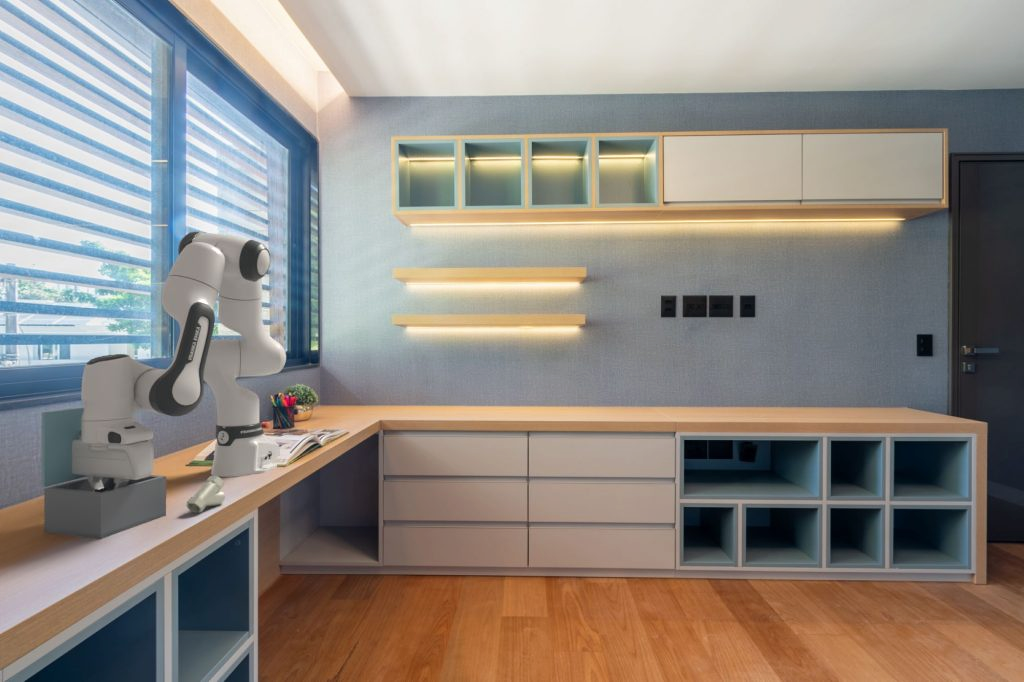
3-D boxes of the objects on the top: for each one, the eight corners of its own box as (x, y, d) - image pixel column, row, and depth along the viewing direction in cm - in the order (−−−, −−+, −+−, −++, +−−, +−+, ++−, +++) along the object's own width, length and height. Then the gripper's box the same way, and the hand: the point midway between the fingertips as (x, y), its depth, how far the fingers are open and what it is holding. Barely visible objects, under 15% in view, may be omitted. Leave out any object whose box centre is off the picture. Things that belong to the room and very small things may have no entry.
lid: (113, 470, 118) (111, 469, 118) (113, 404, 118) (111, 404, 118) (44, 486, 105) (41, 486, 105) (44, 412, 105) (41, 412, 105)
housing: (113, 511, 118) (113, 471, 118) (166, 517, 114) (166, 476, 114) (44, 533, 105) (44, 488, 105) (100, 540, 101) (100, 494, 101)
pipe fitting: (218, 495, 125) (207, 475, 121) (232, 496, 124) (221, 476, 121) (195, 522, 118) (182, 501, 115) (210, 523, 117) (198, 502, 114)
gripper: (55, 431, 109) (55, 497, 109) (131, 436, 104) (131, 505, 104) (86, 427, 115) (86, 489, 115) (159, 431, 110) (159, 496, 110)
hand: (108, 497), depth 110 cm, fingers open, 3 cm apart
